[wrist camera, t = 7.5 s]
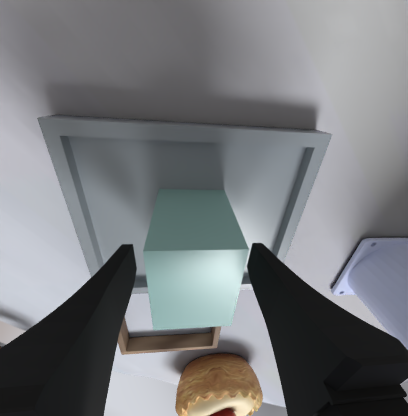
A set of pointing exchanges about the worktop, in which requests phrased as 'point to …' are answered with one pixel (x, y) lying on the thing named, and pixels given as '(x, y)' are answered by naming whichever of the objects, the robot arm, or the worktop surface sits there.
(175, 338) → the dark bent strip
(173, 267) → the teal block
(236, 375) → the pastry
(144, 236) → the grey tray
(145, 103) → the worktop surface
